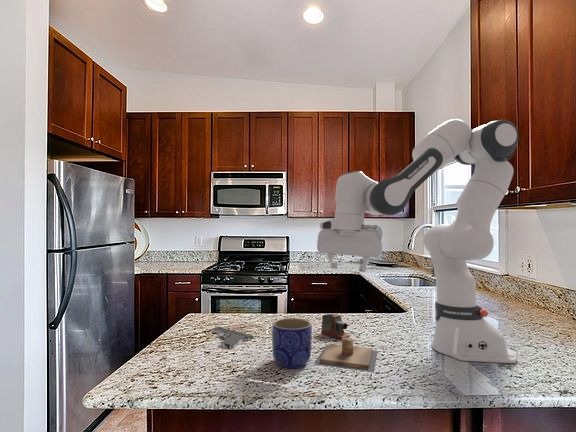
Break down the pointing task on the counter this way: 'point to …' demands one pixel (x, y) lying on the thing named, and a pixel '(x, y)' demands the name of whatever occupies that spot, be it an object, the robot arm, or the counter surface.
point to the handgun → (231, 337)
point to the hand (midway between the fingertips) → (347, 270)
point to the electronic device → (333, 326)
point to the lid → (347, 355)
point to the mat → (371, 366)
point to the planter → (291, 342)
